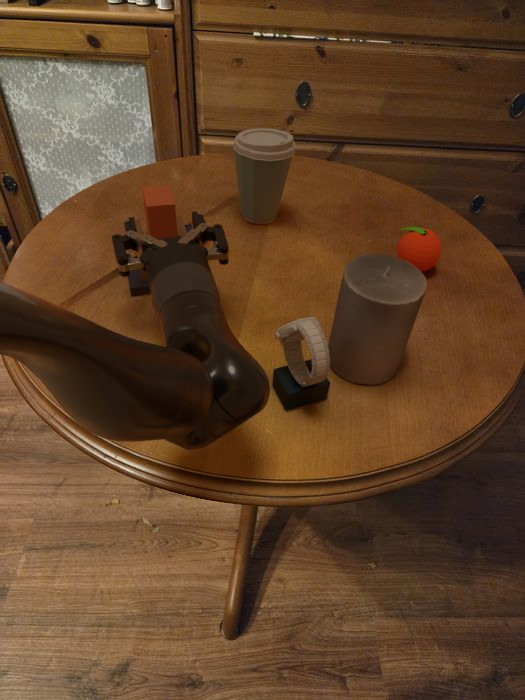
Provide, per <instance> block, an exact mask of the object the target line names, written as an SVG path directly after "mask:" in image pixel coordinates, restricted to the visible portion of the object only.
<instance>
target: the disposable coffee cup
mask: <svg viewBox="0 0 525 700" xmlns="http://www.w3.org/2000/svg"><path fill="white" fill-rule="evenodd" d="M234 137H235V138H234V140H233V145H232V148H233V151H234V161H235V169H236V180H237V188H238V189H237V191H238V197H239V198H238V199H239V207H240V214H241V216H242V219H244V220H245V221H247V222H248V223H251V224H254V225H265V224H266V225H267V224H270V223H272V222H274V221H275V220H276V218H277V217H278V214H279V209H280V205H281V201H282V198H283V194H284V190H285V186H286V182H287V178H288V175H289V171H290V167H291V163H292V159H293V157H294V155H296V142H295V140H294V135H292V134H291V133H289V132H287V131H285V130H281V129H276V128H266V127H265V128H264V127H257V128H247V129H245V130H243V131H240V132H238V134H237V135H235V136H234Z"/></svg>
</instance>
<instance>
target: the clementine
mask: <svg viewBox="0 0 525 700" xmlns="http://www.w3.org/2000/svg"><path fill="white" fill-rule="evenodd" d="M406 230H408V232H406V233H405V234H404V235H403V236H401V238H400V240H399V242H398V244H397V248H396V255H397V258H400V259H403V260H405V261H408V262H409V263H411V264H413V265H414V266H415V267H416V268H418V269H419V270H420V271H421V272H425V271H428V270H431V269H432V268H433V267H434V266H435V265H436V264H437V263H438V262H439V259H440V258H441V256H442V252H443V251H442V249H443V248H442V241H441V240H440V237H439V236H438V235H437V234H436V233H435V232H434V231H432V230H431V229H429V228H426V227H425V228H424V227H420V226H419V227H418V226H408V227H403V228H401V229H399V230H398V232H397V233H396V234H398V233H399V232H401V231H406Z"/></svg>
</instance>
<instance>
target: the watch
mask: <svg viewBox="0 0 525 700" xmlns="http://www.w3.org/2000/svg"><path fill="white" fill-rule="evenodd" d="M274 338H275V340H279V343H280V346H281V347H282V350H283V355H284V358H285V362H286V365H283V366H280V367H276V368H273V372H272V381H271V382H272V384H271V387H272V389H273V391H274V392H275V394H276V396H277V398H278V400H279V401H280V403H281V406H282V407H283V409H284V411H285V412H289V411H292V410H293V411H294V410H295V409H300V408H303V407H306V406H310V405H312V404H316V403H319V402H324V401H327V400H328V396H329V391H330V386H331V381H330V380H329V378H328V376H329V374H330V368H331V367H330V356H329V349H328V344H329V343H328V341H327V338H326V336H325V332H324V330H323V328H322V327H321V325H320V321H319V320H318V319H317V317H315V316H307V317H302V318H299V319H298V318H297V319H295V320H292V321H290V322H288V323H286V324H284V325H282V326H280V327H279V328H278V329H276V332H275V333H274ZM302 341H305V344H306V346H307V349H308V351H309V355H310V359H306V360H305V358H304V353H303V347H302V346H303V345H302ZM299 407H300V408H299Z"/></svg>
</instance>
